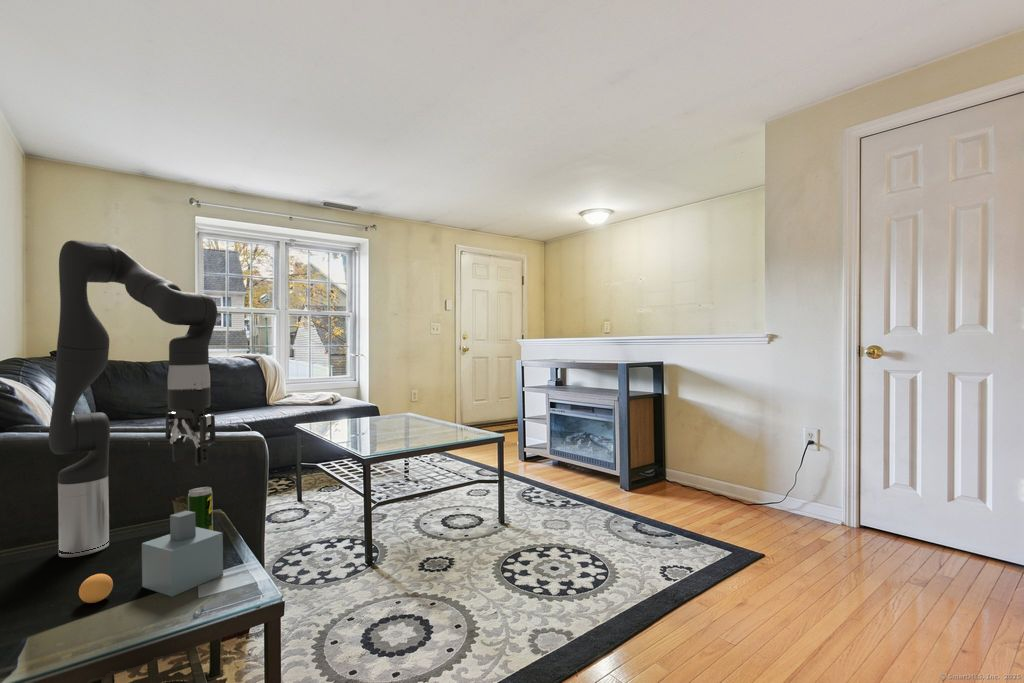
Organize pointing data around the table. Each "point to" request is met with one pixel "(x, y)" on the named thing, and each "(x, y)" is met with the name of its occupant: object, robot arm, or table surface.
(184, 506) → the cup
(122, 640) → the table surface
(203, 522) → the beer can
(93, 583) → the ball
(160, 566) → the blue-grey box with knob
